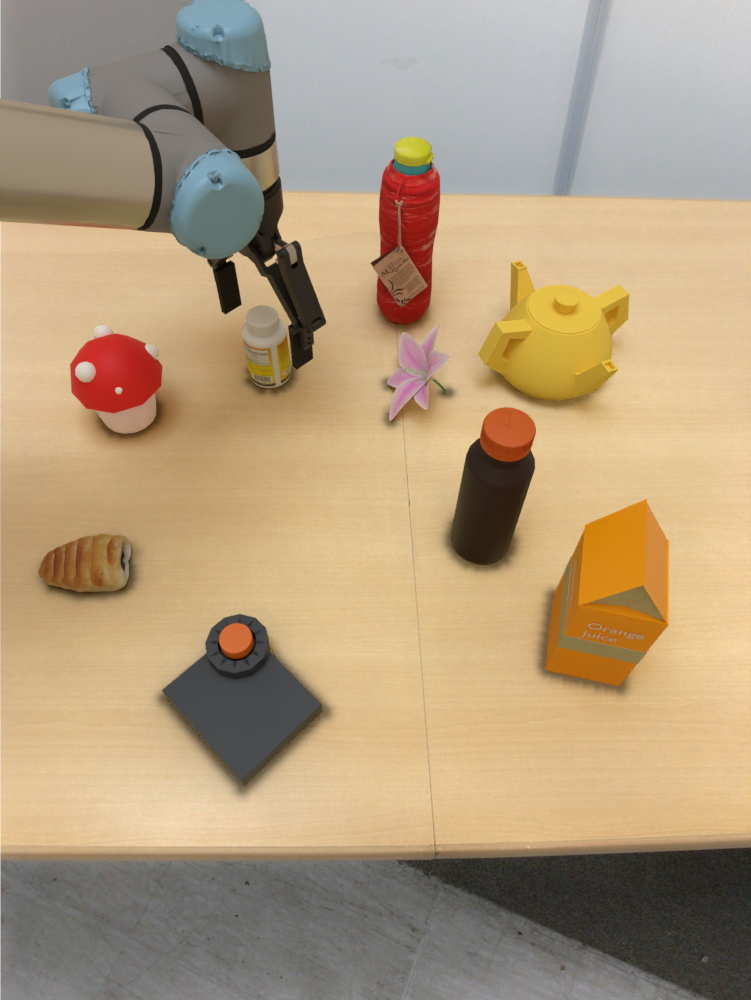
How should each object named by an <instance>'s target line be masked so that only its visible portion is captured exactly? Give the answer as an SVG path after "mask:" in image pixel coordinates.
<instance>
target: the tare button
mask: <svg viewBox="0 0 751 1000" xmlns="http://www.w3.org/2000/svg"><path fill="white" fill-rule="evenodd" d="M219 644H220V646H221V649H222V651H223V653H224V654H225V655H226V656H227V657H229V658H231V659H241V658H243V657H245V656H247V655H248V654H249V653H250V652H251V650H252V648H253V645H254V641H253V637H252V633H251V631H250V629H249V628H248V627H247V626H246V625H244V624H241V623H233V624H230V625H228V626H226V627H225V628H224V629H223V630H222V632H221V633H220V636H219Z"/></svg>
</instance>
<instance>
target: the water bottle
mask: <svg viewBox="0 0 751 1000" xmlns="http://www.w3.org/2000/svg"><path fill="white" fill-rule="evenodd" d="M434 157H435V154H434V153H433V152H432V145H431V144H430V142H429V141H428V140H427V139H425V138H421V137H419V136H406V137H403V138H400V139H399V140H398V141H396V142H395V143H394V147H393V158H392V159H391V160H390V161H389V164H388V165H386V166H385V168H384V170H383V172H382V177H381V184H380V191H379V199H378V200H379V201H378V225H379V237H380V239H379V240H380V241H379V242H380V243H379V257H377V258H376V259H374V260H371V262H370V265H371V266H372V269H373V270H374V272H375V273H376V274H377V280H376V281H377V282H376V303H377V305H378V308H379V309H380V312H381V313H382V315H383V316H384V317H385V319H386V320H388V321H390V322H392V323H394V324H396V325H410V324H412V323H416V322H418V321H419V320H420V319H421V318H422V317H423V316H424V315H425V314H426V312H427V310H428V309H429V307H430V305H431V297H432V288H433V286H432V285H433V254H434V245H435V240H436V235H437V231H438V225H439V218H440V217H439V216H440V209H441V208H440V207H441V176H440V173H439V171H438V169H437V168H436V167H435V163H434V162H433V160H434Z"/></svg>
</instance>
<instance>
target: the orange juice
mask: <svg viewBox="0 0 751 1000" xmlns="http://www.w3.org/2000/svg"><path fill="white" fill-rule="evenodd" d="M564 569H565V570H564V572H563V573H562V576H561V578H560V580H559V582H558V585H557V586H556V589H555V590H554V593H553V595H552V600H551V601H552V602H551V612H550V621H549V630H548V638H547V639H548V640H547V649H546V658H545V659H546V660H545V669H544V670H545V671H547V672H553V673H557V674H560V675H561V674H562V675H567V676H570V677H575V678H578V679H579V678H580V679H583V680H589V681H594V682H597V683H602V684H607V685H611V686H615V687H620V686H621V685H622V684H623V682H624V681H625V680H626V679H627V677H628V676H629V675H630V673H631V672H632V671H633V670H634V669H635V667H636V666H637V665H639V664H640V662H641V661H642V660H643V659H644V657H645V656H646V655H647V653H648V651H649V650H650V649H651V648H652V646H653V645H654V644H655V642H657V640H658V639H659V638H660V636H661V635H662V634H663V633H664V632H665V631H666V629H667V628H668V626H669V623H670V621H669V620H670V540H669V539H668V538H667V537H666V535H665V533H664V531H663V529H662V527H661V525H660V523H659V522H658V520H657V518H656V517H655V514H654V512H653V511H652V509H651V507H650V505H649V504H648V498H645V499H643V500H641V501H638V502H635V503H633V504H630V505H628V506H626V507H624V508H622V509H619V510H617V511H615V512H614V511H613V512H612V513H609V514H608V515H607V514H606V515H604V516H602V517H599V518H598V519H595V520H593V521H591V522H588V523H585V524H584V529H583V531H582V533H581V535H580V538H579V540H578V542H577V544H576V546H575V548H574V550H573V553H572V555H571V556H570V558H569V561H568V562H567V564H566V565H565V568H564Z"/></svg>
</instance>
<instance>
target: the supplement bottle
mask: <svg viewBox="0 0 751 1000" xmlns="http://www.w3.org/2000/svg"><path fill="white" fill-rule="evenodd" d="M279 317H280V316H279V313H278V311H277V310H276V309H275V308H274V307H273V306H270V305H265V304H260V305H256V306H253V307H252V308H250V309H248V311H247V312H246V315H245V323H244V325H243V327H242V329H241V337H242V342H243V348H244V353H245V358H246V363H247V369H248V370H247V371H248V374H249V375H248V376H249V378H250V380H251V381H252V382H253V384H255V385H256V386H258V387H260V388H263V389H276V388H278V387H281V386H284V385H285V384H286V383H287V382H288V380H289V379H290V377H291V375H292V365H291V356H290V348H289V339H288V338H289V337H288V330H287V326H286V323H285V322H284V321H283V320H282V319H280V318H279Z"/></svg>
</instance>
